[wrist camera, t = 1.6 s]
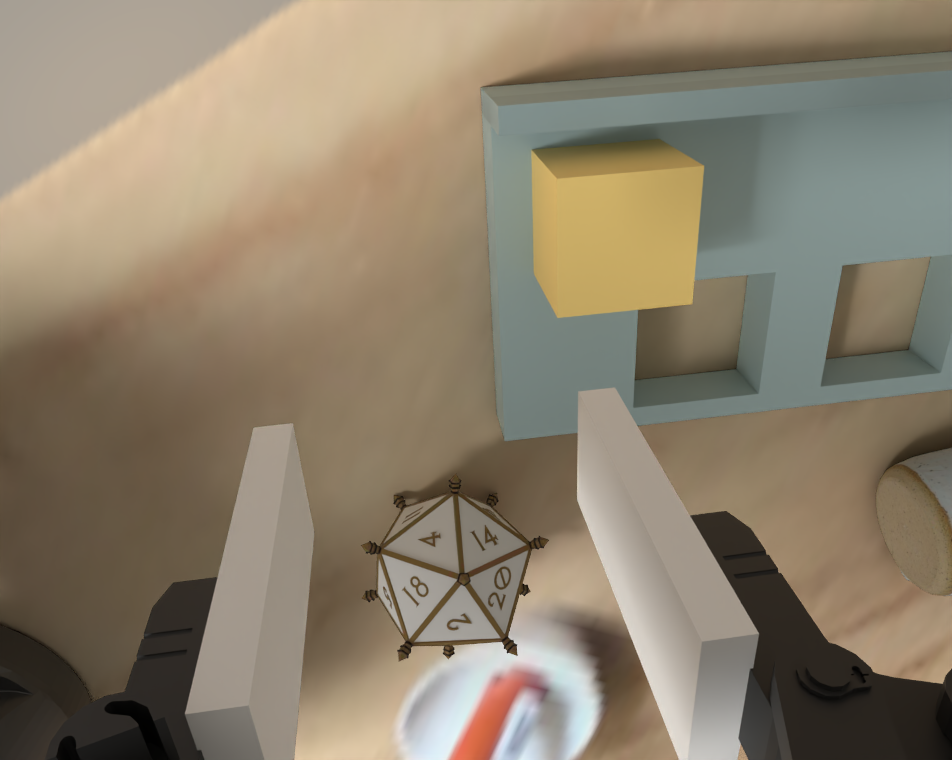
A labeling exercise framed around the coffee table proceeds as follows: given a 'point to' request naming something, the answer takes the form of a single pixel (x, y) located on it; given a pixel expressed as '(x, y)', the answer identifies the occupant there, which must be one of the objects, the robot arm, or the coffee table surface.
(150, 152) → the coffee table surface
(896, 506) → the ceramic mug
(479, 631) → the game die
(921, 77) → the board
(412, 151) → the coffee table surface
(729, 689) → the robot arm
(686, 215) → the block
